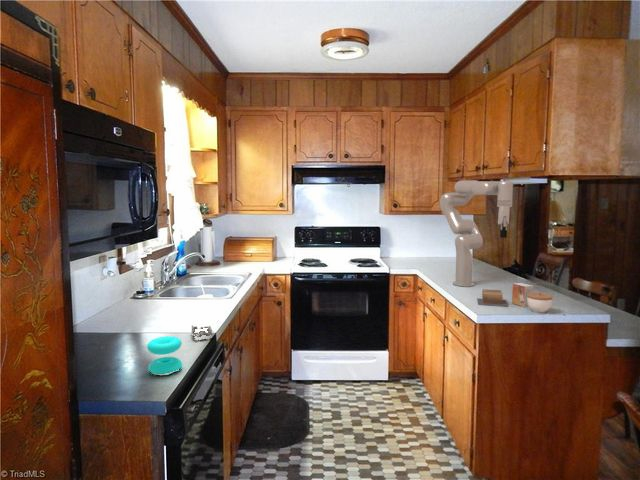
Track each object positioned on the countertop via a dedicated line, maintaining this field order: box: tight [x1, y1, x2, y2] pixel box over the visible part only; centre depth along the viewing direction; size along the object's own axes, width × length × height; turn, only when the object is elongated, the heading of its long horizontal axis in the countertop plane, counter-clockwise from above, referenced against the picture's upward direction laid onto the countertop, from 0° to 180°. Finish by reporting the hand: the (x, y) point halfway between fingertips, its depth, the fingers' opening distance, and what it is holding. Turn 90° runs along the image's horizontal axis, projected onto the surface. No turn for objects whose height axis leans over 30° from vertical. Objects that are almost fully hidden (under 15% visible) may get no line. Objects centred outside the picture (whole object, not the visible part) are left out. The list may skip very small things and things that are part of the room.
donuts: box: [146, 335, 183, 374], centre depth 133 cm, size 10×10×10 cm
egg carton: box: [191, 325, 213, 337], centre depth 167 cm, size 11×8×4 cm
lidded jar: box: [527, 291, 553, 314], centre depth 203 cm, size 11×11×9 cm
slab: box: [481, 288, 504, 304], centre depth 221 cm, size 5×9×12 cm
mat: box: [477, 297, 509, 308], centre depth 219 cm, size 12×14×1 cm
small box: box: [511, 282, 534, 308], centre depth 215 cm, size 8×6×10 cm
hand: (503, 237), depth 235 cm, fingers closed
